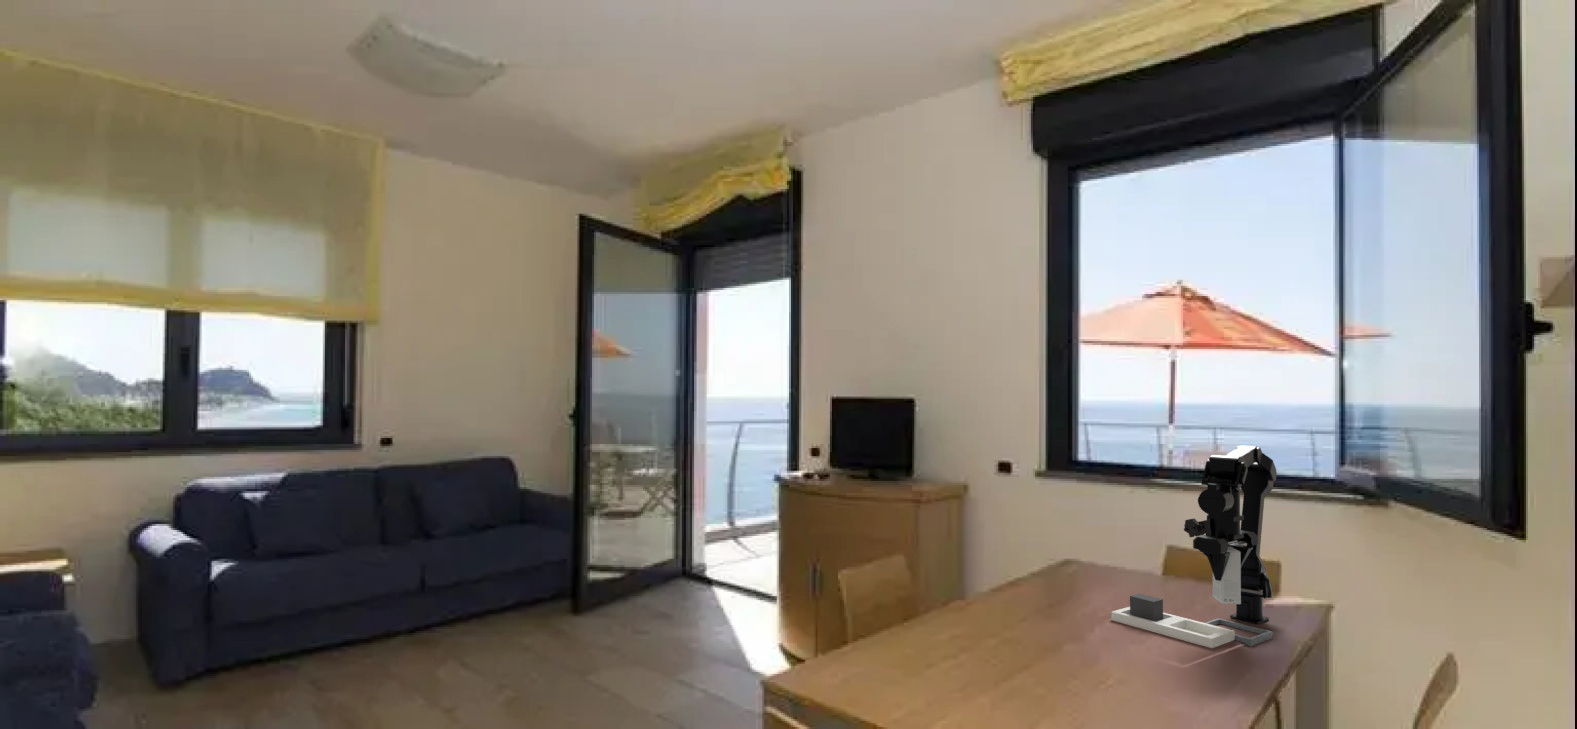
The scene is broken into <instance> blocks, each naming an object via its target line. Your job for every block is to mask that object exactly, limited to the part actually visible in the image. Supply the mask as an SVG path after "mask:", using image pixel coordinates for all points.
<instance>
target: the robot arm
mask: <svg viewBox="0 0 1577 729" xmlns="http://www.w3.org/2000/svg"><path fill="white" fill-rule="evenodd" d="M1276 480H1277V468H1276V464H1275V463H1274V460H1273V459H1272V458H1271V457H1270V456H1267V455H1266V454H1265V453H1263V451H1262V449H1261V447H1258V446H1255V445H1237V446H1236V448H1235V449H1233V450H1232V451H1230V452H1228V453H1227V454H1225V455H1223V454H1222V455H1221V454H1212V455H1210V456H1209V457H1208V459H1206V461H1205V465H1204V470H1203V475H1202V479H1201V485H1203V486H1207V488H1206V489H1204V490H1202V491H1201V492H1200V494H1199V495H1198V498H1197V504H1198V507H1199V508H1200V510H1202V512H1204V513H1206V514H1207V515H1206V519H1205V520H1200V521H1198V520H1197V519H1196V518H1188V519H1184V524H1183V525H1184V526H1183V531H1184V532H1185V533H1187V534H1188V537H1189V538H1193V537H1195V538H1193V539H1192V548H1193V549H1194V550H1197V551H1199V552H1201V553H1202V554H1203V555H1204V556H1206V557H1207V560H1208V562H1209V565H1210V568H1211V571H1212V575H1213V574H1214V577H1215V580H1218V581H1221V579H1222V577H1223V574H1224V571H1225V568H1226V565H1227V562H1228V559H1229V556H1230V552H1227V550H1228V547H1232V548H1234V549H1236V550H1238V551H1240V556H1241V604H1235V613H1232V614H1230V615H1229V617H1230V618H1232V619H1237V620H1240V621H1245V622H1248V623H1251V624H1257V625H1258V624H1261V623H1264V622H1267V621H1269V620H1270V617H1268V616H1265V615H1264V604H1263V603H1264V600H1263V599H1271V598H1273V589H1272V584H1271V580H1270V579H1269V575H1268V573H1267V567H1266V565H1265V563H1264V561H1263V560H1262V558H1261V556H1260V554H1261V542H1262V531H1263V530H1262V529H1263V518H1264V517H1263V516H1264V507H1265V506H1264V505H1265V498H1266V497H1267V496H1268V495H1269V494H1270V493H1271V492H1272V490H1273V489H1274V482H1276ZM1241 492H1242V493H1243V499H1242V510H1241Z"/></svg>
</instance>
